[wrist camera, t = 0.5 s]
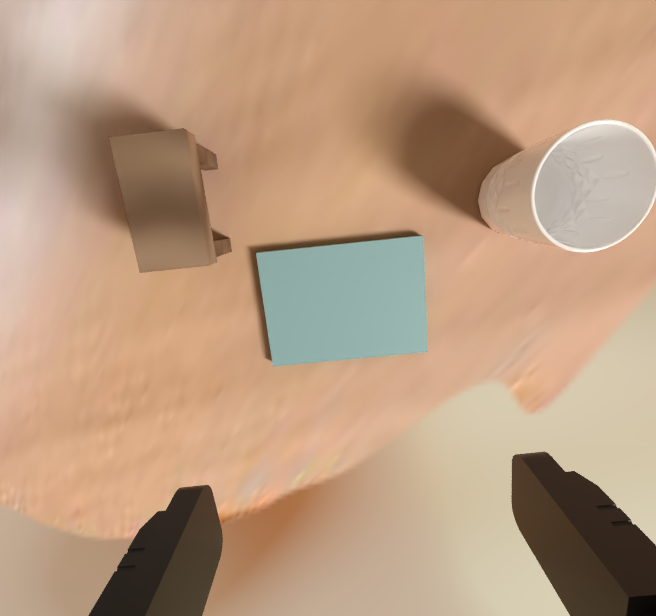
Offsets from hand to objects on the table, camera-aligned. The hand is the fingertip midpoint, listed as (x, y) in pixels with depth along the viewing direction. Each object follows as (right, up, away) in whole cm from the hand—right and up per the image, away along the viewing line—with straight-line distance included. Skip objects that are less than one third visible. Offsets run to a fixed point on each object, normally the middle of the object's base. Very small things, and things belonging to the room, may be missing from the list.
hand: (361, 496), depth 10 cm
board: (+1, +6, +25) cm, 26 cm away
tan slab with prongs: (-12, +14, +23) cm, 30 cm away
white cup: (+16, +15, +23) cm, 32 cm away
